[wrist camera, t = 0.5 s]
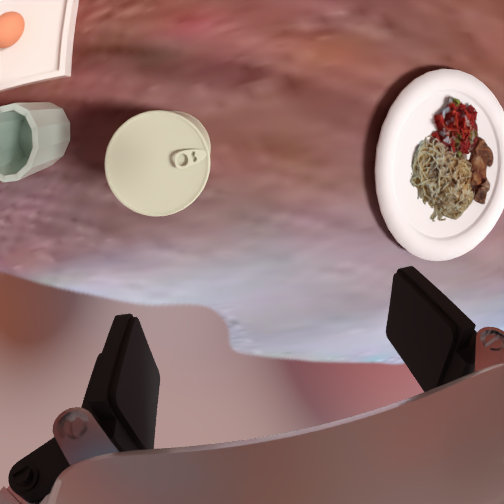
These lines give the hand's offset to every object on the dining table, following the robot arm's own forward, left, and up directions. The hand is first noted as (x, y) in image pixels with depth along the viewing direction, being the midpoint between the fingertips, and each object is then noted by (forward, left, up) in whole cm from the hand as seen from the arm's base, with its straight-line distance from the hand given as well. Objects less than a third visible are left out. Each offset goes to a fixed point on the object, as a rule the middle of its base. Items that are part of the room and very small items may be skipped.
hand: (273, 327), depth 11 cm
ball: (-21, -29, -29) cm, 46 cm away
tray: (-21, -29, -29) cm, 46 cm away
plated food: (-4, +33, -30) cm, 45 cm away
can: (-3, -7, -30) cm, 30 cm away
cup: (-6, -24, -29) cm, 38 cm away
